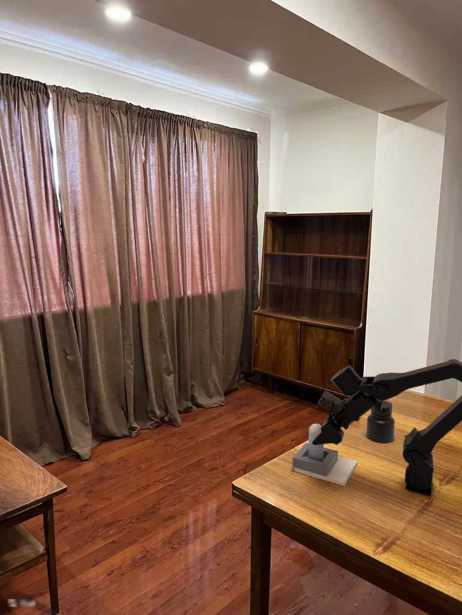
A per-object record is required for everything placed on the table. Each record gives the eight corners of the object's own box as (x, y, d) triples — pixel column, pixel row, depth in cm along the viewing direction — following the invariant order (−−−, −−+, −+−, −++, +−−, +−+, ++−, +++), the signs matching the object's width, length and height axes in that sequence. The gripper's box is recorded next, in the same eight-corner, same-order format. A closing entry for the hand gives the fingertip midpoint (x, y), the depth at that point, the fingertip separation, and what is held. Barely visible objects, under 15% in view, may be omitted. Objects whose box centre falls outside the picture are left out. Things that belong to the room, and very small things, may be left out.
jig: (357, 464, 133) (357, 452, 133) (344, 485, 122) (345, 472, 122) (307, 451, 141) (308, 439, 141) (292, 470, 130) (292, 458, 130)
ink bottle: (400, 438, 149) (402, 405, 147) (383, 446, 144) (385, 411, 142) (376, 428, 157) (378, 396, 155) (359, 434, 152) (361, 402, 150)
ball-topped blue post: (326, 464, 131) (327, 425, 129) (315, 469, 129) (316, 429, 127) (315, 458, 135) (316, 419, 133) (304, 462, 133) (305, 423, 131)
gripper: (341, 374, 134) (304, 404, 140) (330, 396, 117) (289, 429, 123) (367, 403, 132) (329, 431, 139) (359, 429, 115) (316, 460, 122)
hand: (316, 436), depth 131 cm, fingers open, 9 cm apart
